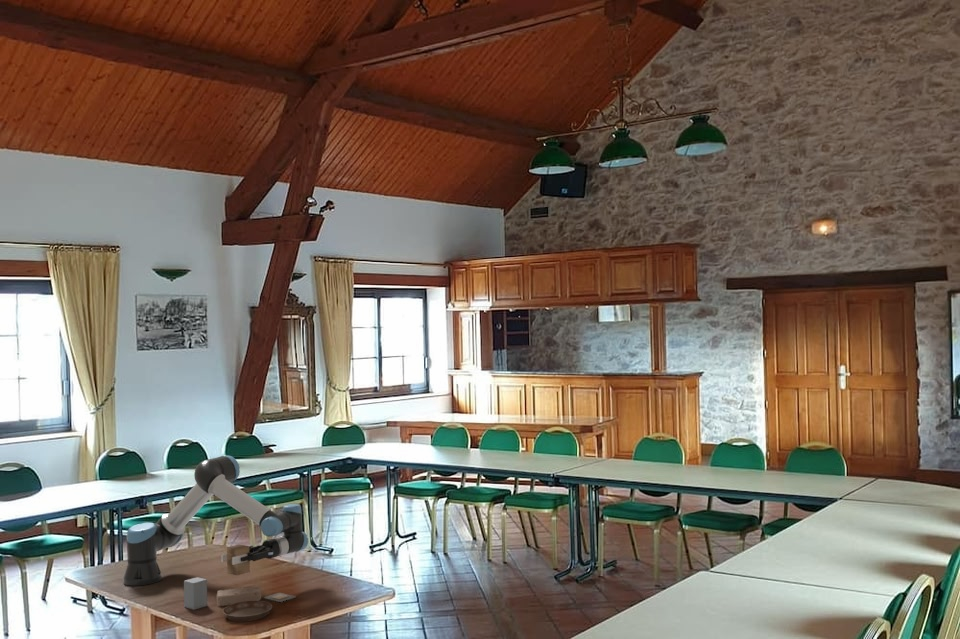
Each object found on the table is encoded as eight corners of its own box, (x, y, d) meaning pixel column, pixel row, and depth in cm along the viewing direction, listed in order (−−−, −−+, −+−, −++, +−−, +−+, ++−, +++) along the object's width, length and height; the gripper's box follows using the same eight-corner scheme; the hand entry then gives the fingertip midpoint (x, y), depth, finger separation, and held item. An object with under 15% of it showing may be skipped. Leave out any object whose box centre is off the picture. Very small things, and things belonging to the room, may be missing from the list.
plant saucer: (257, 625, 327) (257, 616, 327) (213, 622, 332) (213, 613, 332) (281, 610, 344) (280, 602, 344) (238, 607, 349) (238, 599, 349)
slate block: (184, 607, 350) (183, 580, 350) (197, 603, 355) (197, 577, 355) (193, 609, 346) (193, 583, 346) (207, 605, 351) (206, 579, 351)
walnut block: (227, 573, 356) (226, 547, 356) (240, 569, 361) (239, 544, 361) (237, 575, 353) (236, 549, 353) (249, 571, 357) (249, 546, 357)
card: (263, 598, 359) (263, 596, 359) (279, 593, 365) (279, 592, 365) (280, 602, 353) (280, 601, 353) (296, 597, 359) (296, 596, 359)
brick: (217, 607, 350) (217, 594, 350) (216, 601, 358) (216, 589, 358) (261, 602, 355) (261, 590, 355) (259, 596, 363) (259, 584, 363)
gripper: (290, 560, 365) (243, 573, 347) (259, 553, 377) (212, 566, 359) (290, 541, 365) (242, 553, 347) (259, 535, 377) (211, 547, 359)
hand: (227, 559), depth 353 cm, fingers closed on walnut block, 6 cm apart
